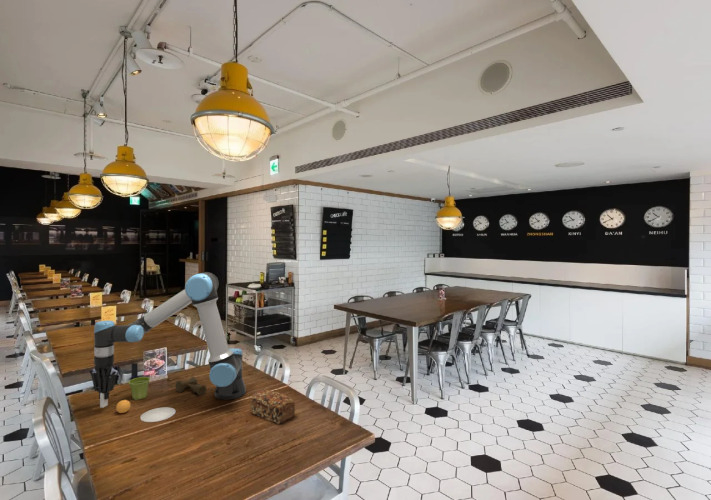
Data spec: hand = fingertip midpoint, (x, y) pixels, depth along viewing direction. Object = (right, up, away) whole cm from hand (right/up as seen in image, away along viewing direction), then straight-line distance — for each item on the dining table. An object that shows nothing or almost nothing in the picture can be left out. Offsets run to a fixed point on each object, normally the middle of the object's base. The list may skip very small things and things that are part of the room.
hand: (103, 406), depth 168 cm
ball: (+10, 0, -1) cm, 10 cm away
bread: (+78, -4, -2) cm, 78 cm away
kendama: (+29, -3, +24) cm, 38 cm away
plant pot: (+7, -2, +15) cm, 17 cm away
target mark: (+26, -3, -3) cm, 27 cm away
